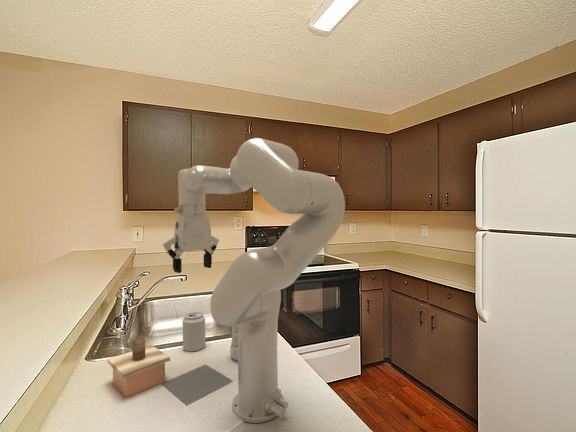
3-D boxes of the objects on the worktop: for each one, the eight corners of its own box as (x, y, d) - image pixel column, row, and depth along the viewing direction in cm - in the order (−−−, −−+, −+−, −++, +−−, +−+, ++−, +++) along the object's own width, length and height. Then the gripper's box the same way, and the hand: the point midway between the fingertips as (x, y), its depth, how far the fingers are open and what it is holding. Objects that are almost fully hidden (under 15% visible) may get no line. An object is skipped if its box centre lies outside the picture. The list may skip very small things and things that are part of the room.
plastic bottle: (240, 352, 102) (239, 293, 102) (255, 357, 98) (254, 296, 98) (225, 360, 97) (225, 297, 96) (241, 366, 93) (240, 301, 92)
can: (197, 342, 110) (196, 309, 110) (209, 347, 106) (209, 313, 105) (178, 349, 104) (178, 314, 104) (191, 355, 100) (190, 319, 100)
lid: (170, 360, 84) (169, 339, 84) (123, 378, 75) (123, 354, 75) (151, 348, 92) (151, 328, 92) (107, 362, 83) (107, 341, 83)
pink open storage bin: (165, 382, 84) (164, 361, 84) (126, 399, 77) (126, 375, 77) (149, 370, 91) (149, 350, 91) (113, 384, 84) (112, 362, 83)
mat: (233, 383, 83) (233, 381, 83) (186, 407, 73) (186, 405, 73) (205, 365, 93) (205, 364, 93) (160, 385, 83) (160, 383, 83)
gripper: (169, 211, 80) (171, 276, 80) (224, 211, 93) (225, 267, 93) (157, 212, 85) (158, 272, 85) (210, 211, 98) (211, 264, 98)
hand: (193, 269), depth 89 cm, fingers open, 9 cm apart
